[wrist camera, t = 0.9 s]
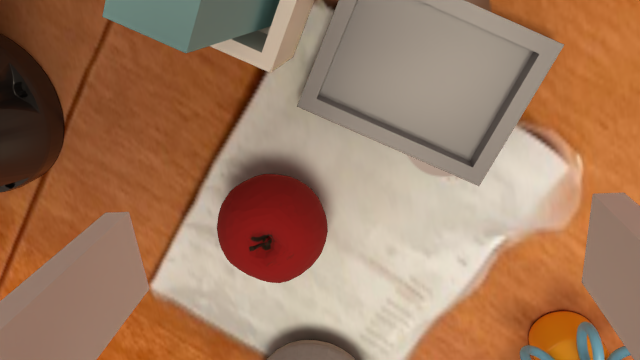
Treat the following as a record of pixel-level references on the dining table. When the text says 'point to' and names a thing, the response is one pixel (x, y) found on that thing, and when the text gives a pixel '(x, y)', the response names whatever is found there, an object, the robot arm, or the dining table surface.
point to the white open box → (271, 37)
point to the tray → (428, 78)
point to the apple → (272, 227)
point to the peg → (192, 19)
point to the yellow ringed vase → (567, 340)
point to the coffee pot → (310, 351)
